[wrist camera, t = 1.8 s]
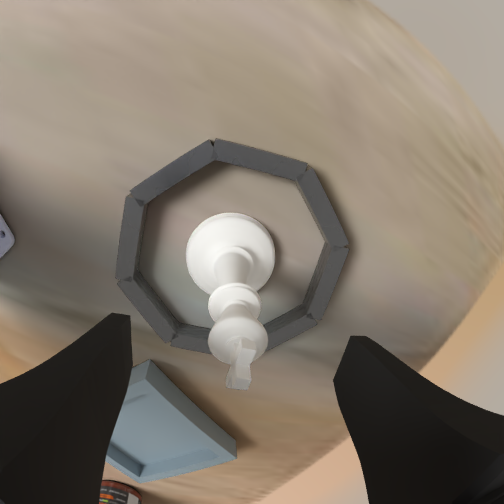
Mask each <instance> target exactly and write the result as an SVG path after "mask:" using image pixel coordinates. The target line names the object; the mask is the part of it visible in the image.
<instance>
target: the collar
mask: <svg viewBox="0 0 504 504" xmlns="http://www.w3.org/2000/svg"><path fill="white" fill-rule="evenodd" d="M214 160H218V161H222V162H226V163H230V164H234V165H238V166H242V167H246V168H250V169H254V170H258V171H262V172H265V173H269V174H273V175H276V176H280V177H284V178H287V179H291V180H294V182H295V184H296V186H297V188H298V190H299V191H300V193H301V195H302V197H303V199H304V201H305V203H306V205H307V207H308V209H309V211H310V212H311V214H312V216H313V218H314V220H315V222H316V224H317V226H318V228H319V230H320V232H321V234H322V236H323V238H324V240H325V244H324V247H323V250H322V253H321V255H320V258H319V261H318V264H317V266H316V269H315V272H314V275H313V277H312V280H311V283H310V286H309V288H308V291H307V294H306V296H305V299H304V302H303V304H302V305H300V306H298V307H297V308H295V309H293V310H291V311H289V312H287V313H285V314H284V315H282V316H280V317H278V318H276V319H274V320H272V321H270V322H269V323H267V324H265V325H263V327H264V328H265V330H266V332H267V336H268V344H267V348H266V350H265V351H267V350H269V349H271V348H273V347H275V346H277V345H279V344H281V343H283V342H285V341H287V340H289V339H291V338H293V337H294V336H296V335H298V334H300V333H302V332H304V331H306V330H308V329H309V328H311V327H313V326H315V325H317V323H316V321H315V319H317V320H321V319H322V317H323V314H324V312H325V310H326V307H327V305H328V302H329V300H330V298H331V295H332V293H333V290H334V288H335V285H336V283H337V280H338V277H339V275H340V272H341V270H342V267H343V265H344V262H345V259H346V257H347V254H348V251H349V248H348V247H346V246H345V245H347V244H349V242H348V240H347V237H346V235H345V233H344V231H343V229H342V227H341V224H340V222H339V220H338V218H337V216H336V214H335V212H334V210H333V208H332V205H331V203H330V201H329V199H328V197H327V195H326V193H325V191H324V189H323V187H322V185H321V183H320V181H319V179H318V177H317V175H316V173H315V171H314V169H313V168H312V167H309V166H307V163H305V162H302V161H299V160H295V159H292V158H289V157H285V156H282V155H278V154H275V153H271V152H267V151H264V150H260V149H256V148H253V147H249V146H245V145H241V144H237V143H233V142H229V141H225V140H221V139H217V138H216V139H215V143H214V146H213V144H212V143H211V141H210V140H207V141H205V142H204V143H202V144H200V145H199V146H197V147H195V148H194V149H192V150H191V151H189V152H187V153H186V154H184V155H183V156H181V157H179V158H178V159H176V160H175V161H173V162H172V163H170V164H169V165H167V166H165V167H164V168H162V169H161V170H159V171H158V172H156V173H155V174H153V175H152V176H150V177H149V178H147V179H146V180H145V181H143V182H142V183H140V184H139V185H137V186H136V187H134V188H133V189H132V190H130V192H131V193H130V194H129V195H128V196H126V200H125V206H124V213H123V219H122V226H121V233H120V241H119V249H118V258H117V267H116V277H115V278H116V279H120V280H119V282H118V283H117V284H118V286H119V287H120V288H121V290H122V291H123V292H124V294H125V295H126V296H127V297H128V299H129V300H130V301H131V302H132V304H133V305H134V306H135V307H136V309H137V310H138V311H139V312H140V314H141V315H142V316H143V317H144V318H145V320H146V321H147V322H148V323H149V324H150V326H151V327H152V328H153V329H154V330H155V332H156V333H157V334H158V335H159V336H160V337H161V339H162V340H163V341H164V342H165V343H167V342H169V341H171V346H173V347H178V348H182V349H187V350H193V351H198V352H203V353H208V354H212V353H211V351H210V349H209V345H208V337H209V333H210V331H211V329H207V328H202V327H197V326H192V325H187V324H183V323H179V322H178V321H177V320H176V319H175V318H174V316H173V315H172V314H171V313H170V311H169V310H168V309H167V308H166V306H165V305H164V304H163V302H162V301H161V300H160V299H159V297H158V296H157V295H156V293H155V292H154V291H153V289H152V288H151V287H150V286H149V284H148V283H147V282H146V280H145V279H144V278H143V276H142V275H141V274H140V272H139V271H138V265H139V258H140V251H141V244H142V238H143V232H144V226H145V220H146V214H147V209H148V203H149V201H150V200H152V199H153V198H155V197H157V196H158V195H160V194H161V193H163V192H164V191H166V190H167V189H169V188H170V187H172V186H173V185H175V184H177V183H178V182H180V181H181V180H183V179H184V178H186V177H188V176H189V175H191V174H192V173H194V172H196V171H197V170H199V169H201V168H202V167H204V166H205V165H207V164H209V163H210V162H212V161H214Z"/></svg>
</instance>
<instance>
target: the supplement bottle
mask: <svg viewBox="0 0 504 504" xmlns="http://www.w3.org/2000/svg"><path fill="white" fill-rule="evenodd" d="M141 501H142V498H141V495H140V494H139V493H138V492H137V491H136V490H134V489H133V488H131V487H129V486H127V485H124V484H121V483H118V482H114V481H102V484H101V491H100V499H99V504H141Z"/></svg>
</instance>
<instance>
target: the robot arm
mask: <svg viewBox="0 0 504 504" xmlns="http://www.w3.org/2000/svg"><path fill="white" fill-rule="evenodd" d="M3 231H4V232H5V236H4V234H3ZM14 242H15V239H14V236H13V234H12V232H11V231H10V229H9V228H8V226H7V224H6V223H5V221H4V219H3V217H2V216H1V214H0V259H1V257H2V256H3V255H4V254H5V253H6V252H7V251H8V250H9V249H10V248H11V247H12V246H13V245H14ZM132 366H133V361H132V345H131V321H130V315H123V314H117V313H111V314H110V315H108V316H107V317H106V318H104V319H103V320H102V321H101V322H99V323H98V324H97V325H95V326H94V327H93V328H92V329H90V330H89V331H88V332H87V333H85V334H84V335H83V336H81V337H80V338H79V339H77V340H76V341H75V342H73V343H72V344H71V345H69V346H68V347H66V348H65V349H63V350H62V351H60V352H59V353H57V354H56V355H54V356H53V357H52V358H50V359H48V360H47V361H45V362H44V363H42V364H40V365H38V366H37V367H35V368H33V369H31V370H29V371H27V372H26V373H24V374H22V375H20V376H17V377H15V378H13V379H10V380H8V381H6V382H4V383H1V384H0V504H99V499H100V491H101V484H102V477H103V471H104V465H105V459H106V454H107V451H108V447H109V443H110V440H111V437H112V434H113V431H114V428H115V425H116V422H117V419H118V416H119V413H120V410H121V407H122V405H123V402H124V399H125V396H126V393H127V389H128V385H129V380H130V376H131V371H132ZM333 382H334V387H335V392H336V396H337V400H338V404H339V407H340V410H341V412H342V415H343V418H344V420H345V423H346V425H347V428H348V431H349V433H350V436H351V438H352V441H353V443H354V446H355V449H356V451H357V454H358V457H359V460H360V463H361V467H362V471H363V475H364V479H365V484H366V489H367V494H368V500H369V504H504V416H503V415H499V414H496V413H493V412H490V411H488V410H485V409H482V408H480V407H478V406H475V405H473V404H470V403H468V402H466V401H464V400H462V399H460V398H458V397H456V396H454V395H452V394H451V393H449V392H447V391H445V390H443V389H442V388H440V387H438V386H437V385H435V384H433V383H432V382H430V381H429V380H427V379H426V378H424V377H423V376H421V375H420V374H419V373H417V372H416V371H414V370H413V369H411V368H410V367H409V366H407V365H406V364H405V363H403V362H402V361H401V360H399V359H398V358H397V357H395V356H394V355H393V354H391V353H390V352H389V351H387V350H386V349H384V348H383V347H382V346H380V345H379V344H378V343H376V342H375V341H373V340H372V339H370V338H368V337H367V336H350V339H349V341H348V344H347V347H346V349H345V352H344V355H343V357H342V360H341V362H340V365H339V367H338V370H337V372H336V374H335V377H334V379H333Z"/></svg>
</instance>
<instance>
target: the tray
mask: <svg viewBox="0 0 504 504" xmlns="http://www.w3.org/2000/svg"><path fill="white" fill-rule="evenodd" d="M234 459H237V452H236V440H235V439H233V438H232V437H231V436H230V435H229V434H227V433H226V432H225V431H224V430H223V429H222V428H221V427H219V426H218V425H217V424H216V423H215V422H214V421H213V420H211V419H210V418H209V417H208V416H207V415H206V414H205V413H204V412H203V411H202V410H201V409H199V408H198V407H197V406H196V405H195V404H194V403H193V402H192V401H191V400H190V399H189V398H188V397H187V396H186V395H185V394H184V393H183V392H182V391H181V390H180V389H179V388H178V387H177V386H176V385H174V384H173V383H172V381H171V380H170V379H169V378H168V377H167V376H166V375H165V374H164V373H163V372H162V371H161V370H160V369H159V368H158V367H157V366H156V365H155V364H154V363H153V362H152V361H151V360H148V361H146V362H144V363H141V364H139V365H137V366H135V367H133V368H132V371H131V376H130V380H129V385H128V389H127V393H126V396H125V399H124V402H123V405H122V407H121V410H120V413H119V416H118V419H117V422H116V425H115V428H114V431H113V434H112V437H111V440H110V443H109V447H108V451H107V454H106V459H105V461H106V462H108V463H109V464H110V465H112V466H113V467H115V468H116V469H118V470H119V471H121V472H122V473H124V474H125V475H127V476H129V477H130V478H132V479H133V480H135V481H137V482H138V483H144V482H149V481H154V480H159V479H164V478H168V477H173V476H177V475H181V474H185V473H189V472H193V471H197V470H201V469H204V468H208V467H211V466H215V465H218V464H222V463H225V462H228V461H231V460H234Z"/></svg>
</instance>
